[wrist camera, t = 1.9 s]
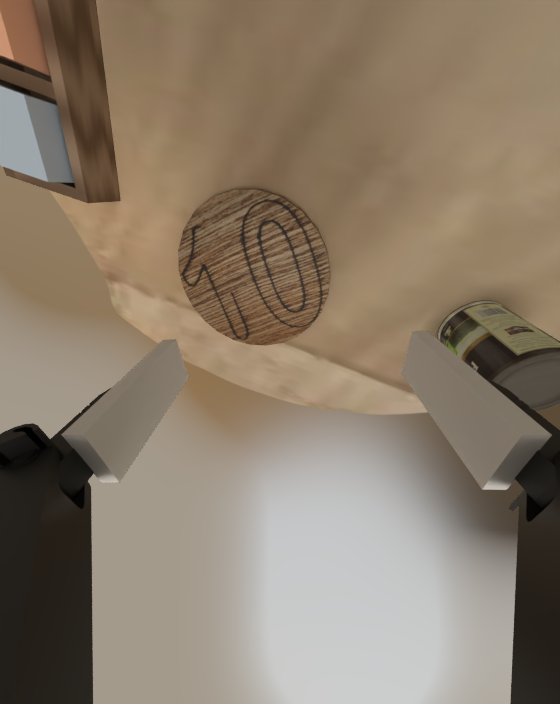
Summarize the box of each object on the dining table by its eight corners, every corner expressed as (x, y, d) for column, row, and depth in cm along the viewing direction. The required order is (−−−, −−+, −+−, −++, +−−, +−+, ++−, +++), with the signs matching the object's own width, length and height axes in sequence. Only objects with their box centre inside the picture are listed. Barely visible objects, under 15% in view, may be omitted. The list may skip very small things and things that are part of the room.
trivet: (230, 353, 49) (227, 358, 47) (152, 234, 36) (145, 236, 34) (346, 318, 41) (347, 323, 39) (298, 150, 28) (297, 147, 26)
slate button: (-4, 82, 24) (-54, 66, 20) (62, 107, 24) (23, 94, 21) (22, 163, 28) (-16, 160, 24) (78, 182, 28) (48, 182, 25)
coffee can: (448, 361, 43) (497, 423, 31) (428, 322, 39) (475, 377, 27) (515, 334, 38) (600, 395, 27) (500, 287, 34) (592, 336, 23)
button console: (-78, -302, 16) (-247, -513, 11) (66, -233, 17) (-34, -403, 12) (51, 177, 33) (6, 175, 28) (120, 200, 33) (87, 203, 29)
